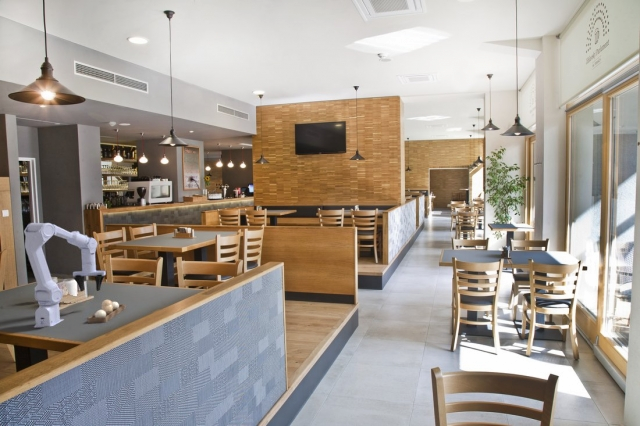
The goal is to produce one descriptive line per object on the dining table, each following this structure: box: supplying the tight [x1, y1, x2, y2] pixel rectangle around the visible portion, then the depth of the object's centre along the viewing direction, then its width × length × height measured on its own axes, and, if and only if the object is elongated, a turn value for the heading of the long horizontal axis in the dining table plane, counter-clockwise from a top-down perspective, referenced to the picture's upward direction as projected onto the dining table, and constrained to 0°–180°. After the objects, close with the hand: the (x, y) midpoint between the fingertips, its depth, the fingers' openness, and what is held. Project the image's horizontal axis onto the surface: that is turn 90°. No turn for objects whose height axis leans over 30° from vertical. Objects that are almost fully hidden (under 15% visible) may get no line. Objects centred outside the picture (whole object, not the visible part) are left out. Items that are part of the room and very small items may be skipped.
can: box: [62, 277, 78, 296], centre depth 227 cm, size 6×6×12 cm
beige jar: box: [101, 299, 113, 313], centre depth 200 cm, size 4×4×7 cm
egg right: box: [111, 301, 120, 309], centre depth 207 cm, size 4×4×4 cm
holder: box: [87, 303, 127, 324], centre depth 200 cm, size 21×8×3 cm, turn 2°
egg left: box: [94, 309, 106, 318], centre depth 193 cm, size 4×4×4 cm
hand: (90, 290), depth 211 cm, fingers open, 7 cm apart
